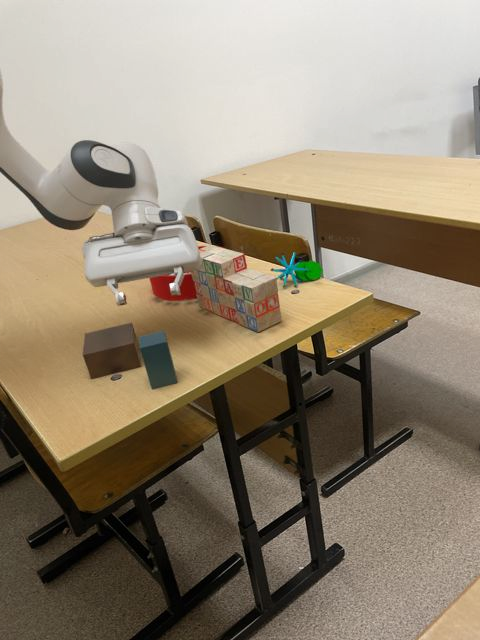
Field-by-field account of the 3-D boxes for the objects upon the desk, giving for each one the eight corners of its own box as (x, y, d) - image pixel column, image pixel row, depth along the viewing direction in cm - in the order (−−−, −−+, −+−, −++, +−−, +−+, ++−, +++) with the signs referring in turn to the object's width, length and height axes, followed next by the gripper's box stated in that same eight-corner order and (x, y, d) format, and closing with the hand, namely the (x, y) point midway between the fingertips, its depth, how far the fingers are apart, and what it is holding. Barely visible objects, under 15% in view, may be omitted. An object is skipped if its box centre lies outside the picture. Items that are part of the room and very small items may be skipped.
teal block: (151, 389, 88) (139, 347, 84) (150, 376, 92) (138, 336, 88) (177, 382, 89) (166, 341, 85) (175, 370, 93) (164, 330, 89)
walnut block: (91, 379, 94) (82, 355, 92) (92, 356, 102) (84, 333, 99) (141, 366, 95) (134, 342, 93) (139, 344, 103) (132, 322, 101)
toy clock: (235, 265, 117) (145, 283, 116) (239, 289, 120) (152, 307, 119) (225, 240, 135) (147, 255, 133) (229, 262, 138) (153, 277, 136)
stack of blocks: (283, 321, 103) (274, 261, 97) (258, 333, 100) (248, 273, 94) (221, 296, 119) (210, 243, 113) (197, 306, 116) (186, 252, 110)
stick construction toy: (275, 284, 114) (272, 249, 115) (265, 293, 121) (263, 260, 122) (325, 286, 118) (323, 252, 119) (313, 294, 124) (311, 262, 126)
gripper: (75, 230, 92) (82, 303, 88) (191, 209, 92) (204, 281, 89) (87, 247, 98) (94, 316, 94) (196, 227, 98) (208, 295, 95)
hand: (148, 299), depth 91 cm, fingers open, 8 cm apart
